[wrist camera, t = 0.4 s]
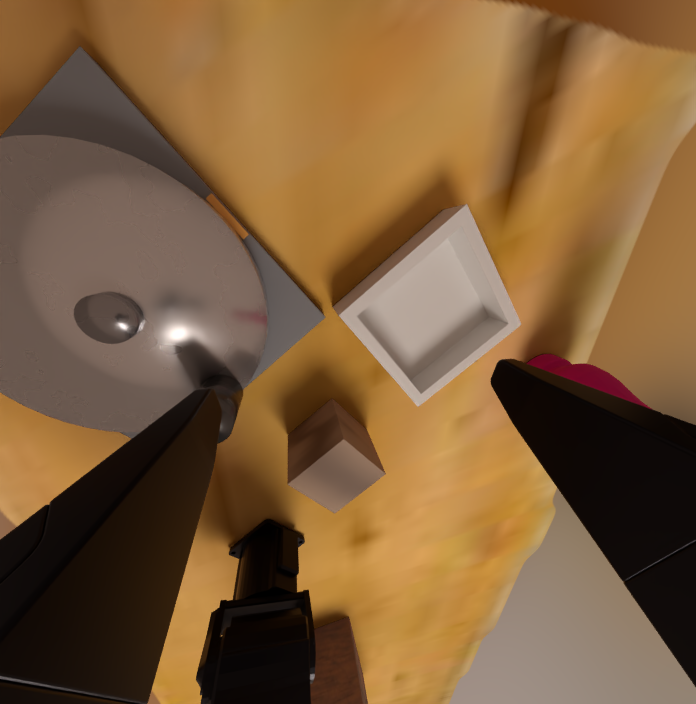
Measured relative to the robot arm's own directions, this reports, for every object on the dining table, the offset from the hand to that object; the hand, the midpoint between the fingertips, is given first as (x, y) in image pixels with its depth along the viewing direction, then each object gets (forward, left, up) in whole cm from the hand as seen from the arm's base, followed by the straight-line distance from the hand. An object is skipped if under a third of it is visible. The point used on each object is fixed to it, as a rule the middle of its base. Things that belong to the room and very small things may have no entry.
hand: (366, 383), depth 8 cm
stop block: (-9, -11, -15) cm, 20 cm away
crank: (-10, +8, -13) cm, 18 cm away
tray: (+6, -7, -15) cm, 18 cm away
